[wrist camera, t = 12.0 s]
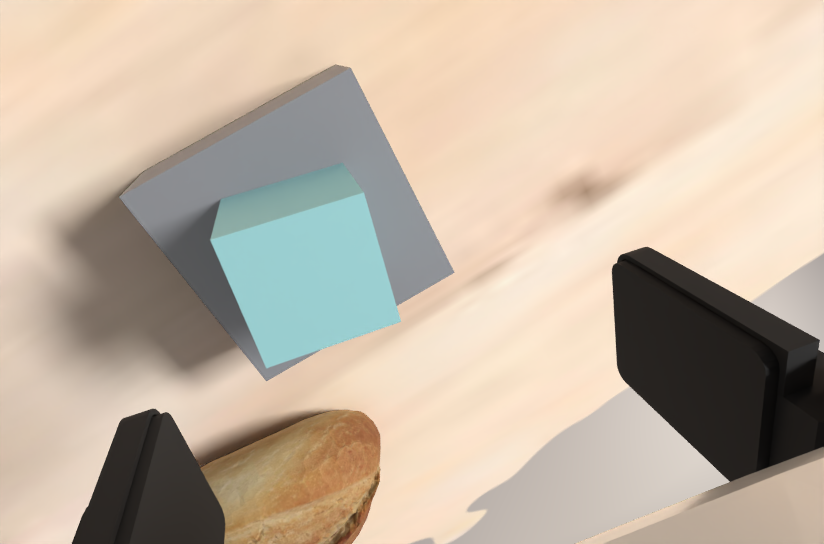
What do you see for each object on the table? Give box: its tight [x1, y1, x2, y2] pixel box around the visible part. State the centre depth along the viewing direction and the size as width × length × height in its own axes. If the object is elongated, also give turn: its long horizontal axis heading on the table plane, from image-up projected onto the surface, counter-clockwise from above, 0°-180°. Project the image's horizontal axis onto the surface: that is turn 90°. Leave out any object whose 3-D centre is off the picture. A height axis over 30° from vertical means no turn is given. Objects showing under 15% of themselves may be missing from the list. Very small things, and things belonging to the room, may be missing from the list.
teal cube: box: [210, 163, 401, 368], centre depth 24 cm, size 6×6×6 cm
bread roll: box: [200, 410, 380, 544], centre depth 35 cm, size 10×15×8 cm, turn 115°
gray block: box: [119, 65, 454, 381], centre depth 30 cm, size 12×12×6 cm
